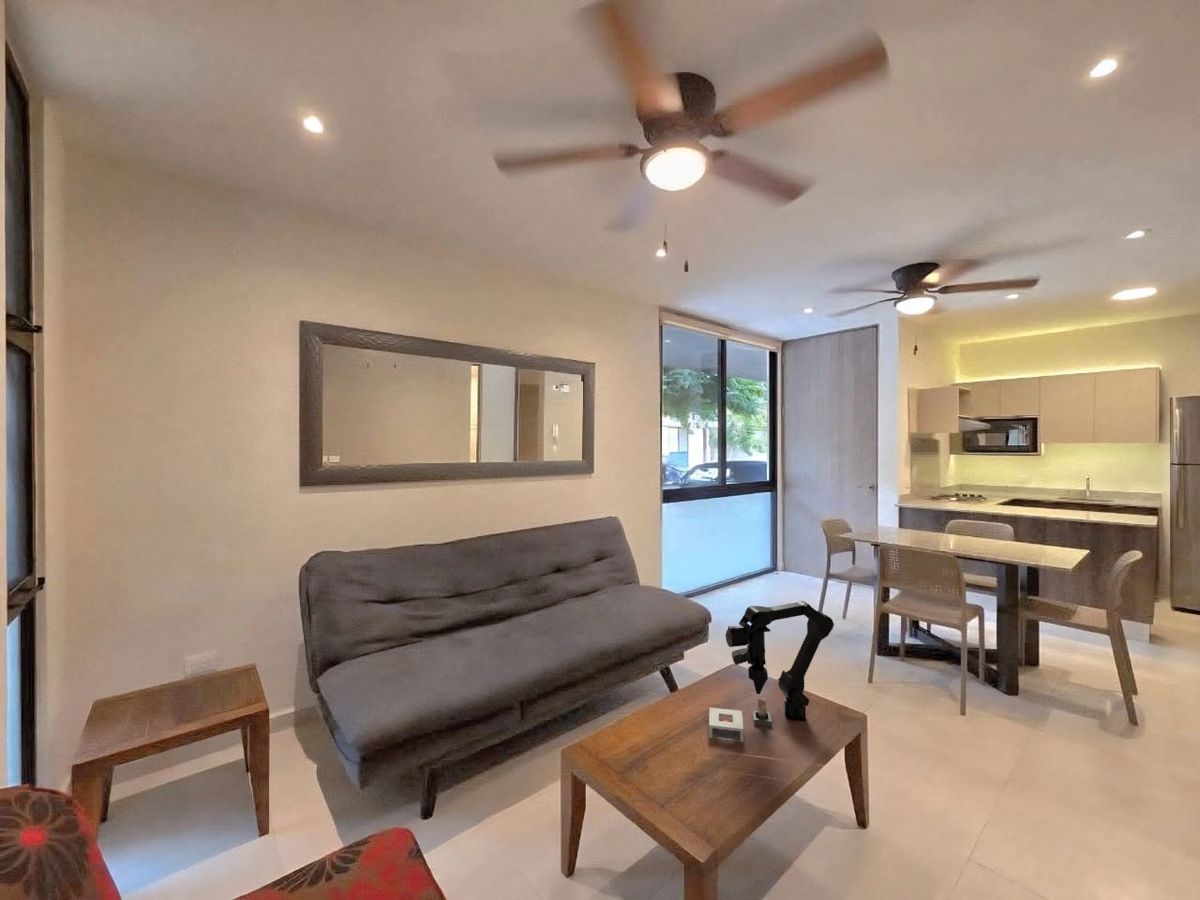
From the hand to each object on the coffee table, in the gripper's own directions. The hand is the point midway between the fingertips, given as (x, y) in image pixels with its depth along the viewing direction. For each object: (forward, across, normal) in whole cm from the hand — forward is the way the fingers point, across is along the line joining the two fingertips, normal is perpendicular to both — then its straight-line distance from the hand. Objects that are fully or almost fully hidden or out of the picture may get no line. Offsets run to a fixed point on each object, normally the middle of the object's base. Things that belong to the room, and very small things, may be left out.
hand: (757, 687), depth 175 cm
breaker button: (+10, +10, -11) cm, 18 cm away
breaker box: (+12, +10, -11) cm, 19 cm away
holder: (+12, +1, +1) cm, 12 cm away
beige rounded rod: (+12, +1, +1) cm, 12 cm away
